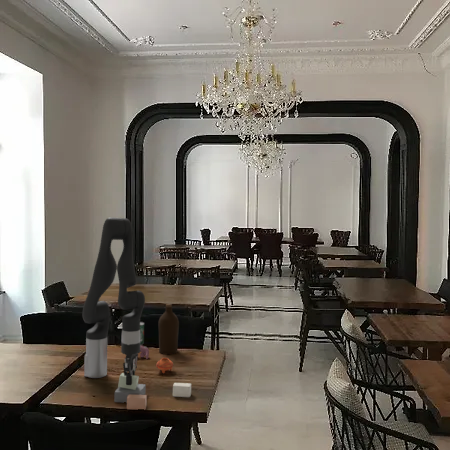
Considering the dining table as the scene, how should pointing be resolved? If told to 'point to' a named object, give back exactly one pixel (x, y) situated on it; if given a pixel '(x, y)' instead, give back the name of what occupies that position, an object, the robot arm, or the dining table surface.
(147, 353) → the video game controller
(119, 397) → the charcoal block
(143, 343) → the canned tomato
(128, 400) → the terracotta brick
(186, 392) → the cream brick
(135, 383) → the sage brick
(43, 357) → the dining table surface
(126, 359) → the robot arm
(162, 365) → the pot
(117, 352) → the dining table surface
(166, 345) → the brown bottle
